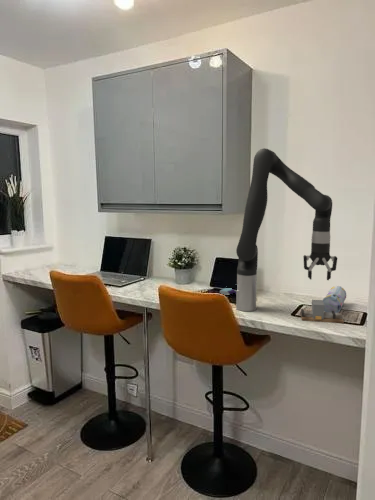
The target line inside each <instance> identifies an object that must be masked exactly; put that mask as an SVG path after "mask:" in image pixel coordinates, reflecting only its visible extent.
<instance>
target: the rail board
mask: <svg viewBox="0 0 375 500" xmlns="http://www.w3.org/2000/svg"><path fill="white" fill-rule="evenodd" d="M300 318H301V321H303V322H305V321H306V322H319V323H320V322H321V323H336V324H344V323H345V321H344V319H343V318H344V316H343V313H342V312H339V313H335V312H334V311H332V312H325V311H324V319H321V320H320V319H313V313H312V310H304V308H301V309H300Z"/></svg>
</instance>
